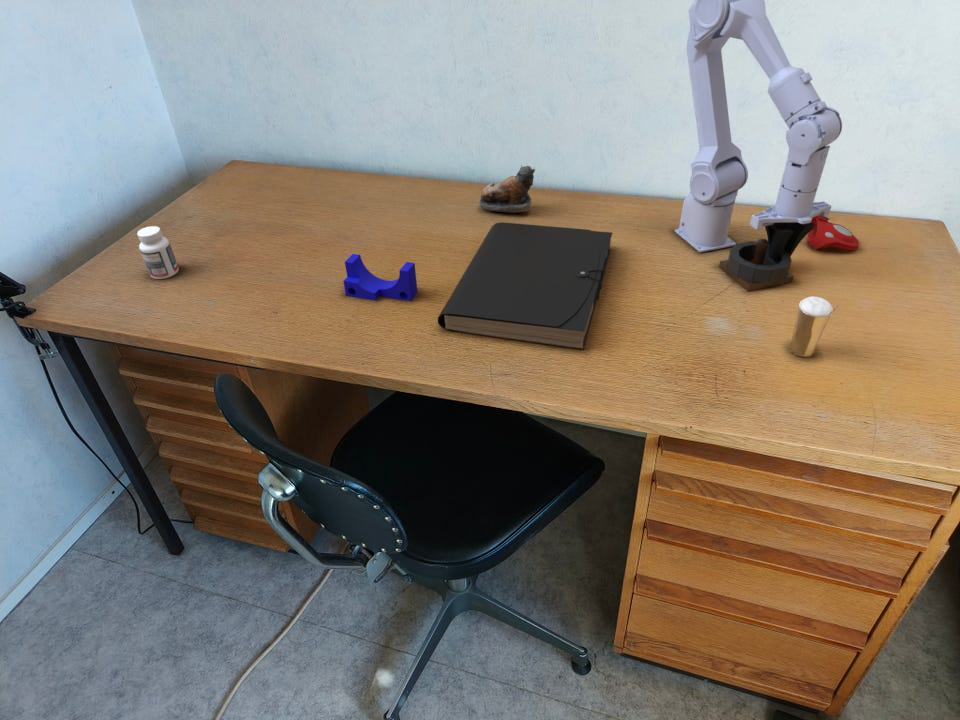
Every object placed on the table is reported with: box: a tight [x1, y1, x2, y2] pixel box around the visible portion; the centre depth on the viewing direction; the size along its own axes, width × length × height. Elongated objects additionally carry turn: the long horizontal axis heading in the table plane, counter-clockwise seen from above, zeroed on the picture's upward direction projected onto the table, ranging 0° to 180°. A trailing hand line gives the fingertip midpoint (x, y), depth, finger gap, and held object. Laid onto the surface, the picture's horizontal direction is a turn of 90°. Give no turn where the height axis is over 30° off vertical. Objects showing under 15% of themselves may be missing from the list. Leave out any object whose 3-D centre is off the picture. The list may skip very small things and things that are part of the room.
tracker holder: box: [806, 215, 860, 251], centre depth 127 cm, size 12×4×10 cm
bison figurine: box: [478, 165, 536, 213], centre depth 139 cm, size 12×7×10 cm, turn 74°
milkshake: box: [789, 295, 839, 358], centre depth 98 cm, size 5×5×10 cm
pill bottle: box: [136, 225, 180, 280], centre depth 123 cm, size 5×5×9 cm
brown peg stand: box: [718, 238, 794, 292], centre depth 117 cm, size 9×9×7 cm
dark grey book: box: [437, 221, 613, 350], centre depth 117 cm, size 33×4×24 cm
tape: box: [727, 240, 793, 284], centre depth 117 cm, size 10×10×3 cm
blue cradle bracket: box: [342, 253, 419, 302], centre depth 116 cm, size 12×4×6 cm, turn 71°
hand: (778, 257), depth 118 cm, fingers closed on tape, 2 cm apart
